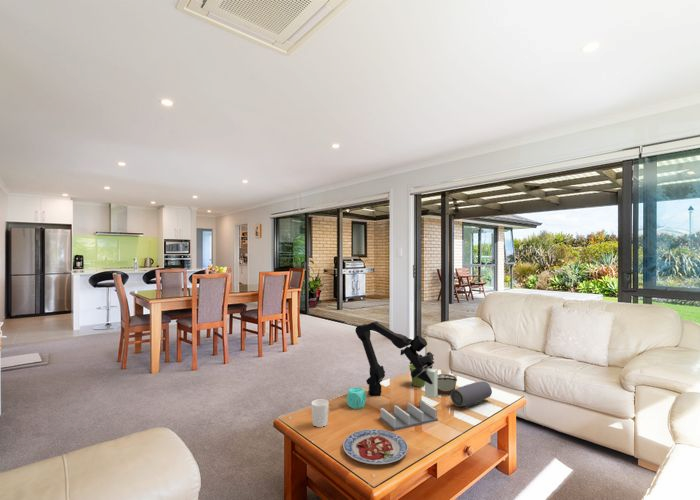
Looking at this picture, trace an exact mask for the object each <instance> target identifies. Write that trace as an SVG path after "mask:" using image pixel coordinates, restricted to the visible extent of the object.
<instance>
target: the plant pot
mask: <svg viewBox="0 0 700 500" xmlns="http://www.w3.org/2000/svg"><path fill="white" fill-rule="evenodd" d="M408 367H409V371H410V373H411V372H412V371H413V370H415V369H416V368H415V367H414V366H413V364H410V363H409V364H408ZM417 376H418V375H417ZM417 376H416V377H415V378H412V376H411V375H410V377H411V383H412V386H414V387H418V388H422V387H425V381H424V380H422V379H420V378H417Z"/></svg>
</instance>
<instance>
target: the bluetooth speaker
mask: <svg viewBox="0 0 700 500" xmlns="http://www.w3.org/2000/svg"><path fill="white" fill-rule="evenodd" d="M492 394H493V390H492V387H491V384H490V383H488V382H487V381H477V382H472V383H470V384H465V385H462V386H460V387H457V388H455V389H454V390H453V391H452V392H451V396H450V400H451V402H452V403H453V405H455V406H457V407H471V406H475V405H477V404H479V403H480V402H482V401H483V400H484V401H485V400H486V399H488V398H490V397H491V396H492Z"/></svg>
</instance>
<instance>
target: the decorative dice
mask: <svg viewBox="0 0 700 500" xmlns="http://www.w3.org/2000/svg"><path fill="white" fill-rule="evenodd" d="M366 402H367V392H366V390H365V389H364V388H362V387H350V388H349V389H348V391H347V395H346V404H347V405H348V407H350V409H356V410H357V409H362V408H364V407H365V405H366Z"/></svg>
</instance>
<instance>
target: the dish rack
mask: <svg viewBox="0 0 700 500" xmlns="http://www.w3.org/2000/svg"><path fill="white" fill-rule="evenodd" d="M406 405H407V406H406V410H403V409H402V408H400V407H399V406H398V405H395V404H394V405H393V406H394V407H393V411H394V413H390V412H389V411H387V410H386V409H385V408H384V407H381V408H380V415H379V419H380V420H381V421H382V422H383V424H385V425H386V426H388V427H389V428H390V429H392V431H394V432H395V431H398V430H399V431H400V430H403V429H407V428H412V427H416V426H420V425H426V424H429V423H434V422H437V421H439V419H438V417H437V415H438V413H437V412H438V411H437V408H435V407H433V406H431V405H430V404H428V403H427V402H426V401H424V400H422V399H420V400H419V407H416V406H415V405H414V404H412V403H410V402H407V404H406Z"/></svg>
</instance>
